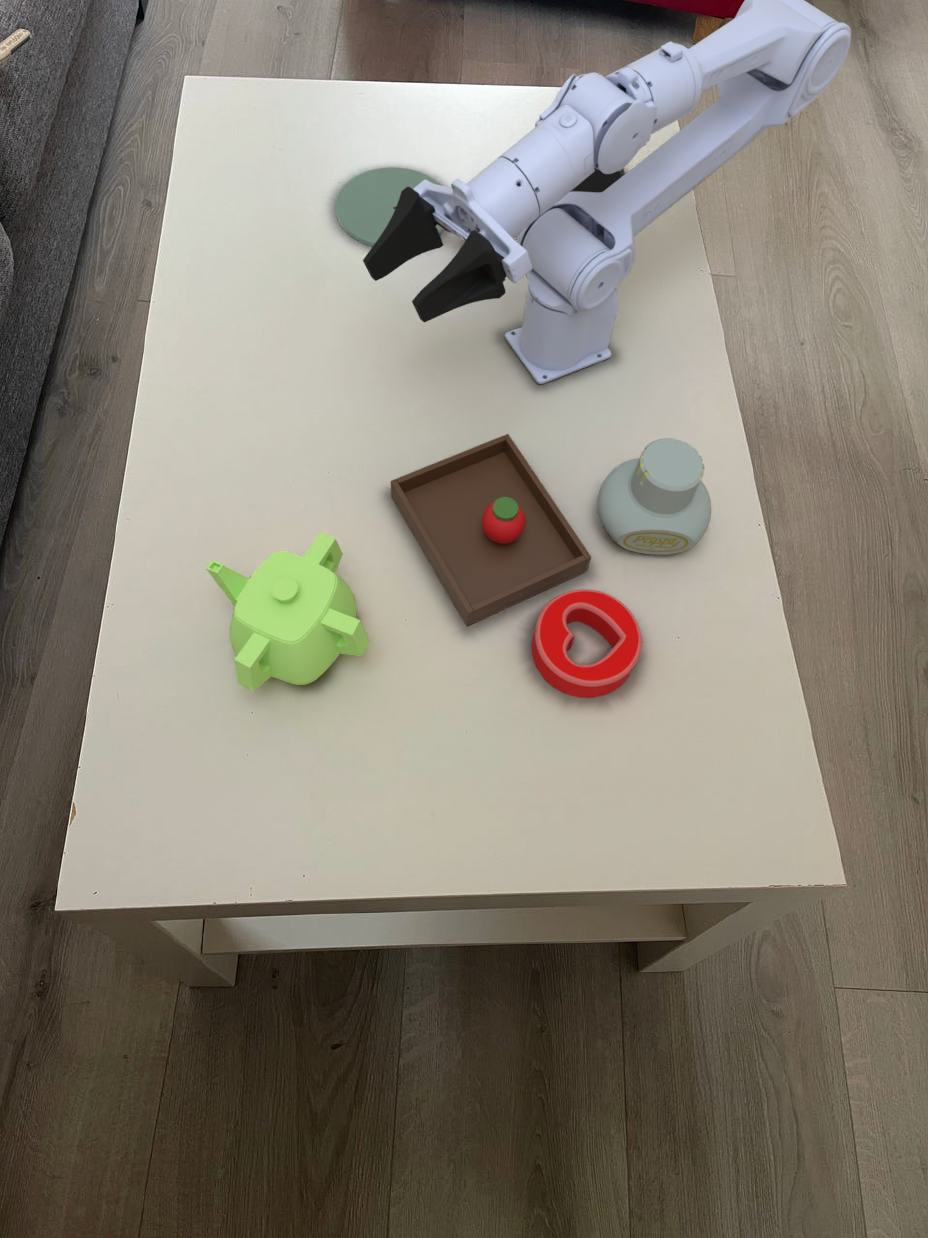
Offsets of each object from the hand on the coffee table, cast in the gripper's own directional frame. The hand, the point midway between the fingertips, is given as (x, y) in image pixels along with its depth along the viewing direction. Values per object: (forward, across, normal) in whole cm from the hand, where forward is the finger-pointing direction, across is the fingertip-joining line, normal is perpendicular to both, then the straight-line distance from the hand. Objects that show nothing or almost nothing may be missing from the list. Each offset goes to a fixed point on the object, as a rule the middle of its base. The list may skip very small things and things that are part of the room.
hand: (392, 290), depth 71 cm
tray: (+5, +10, +22) cm, 24 cm away
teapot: (+26, +10, +16) cm, 31 cm away
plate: (-14, -33, +19) cm, 40 cm away
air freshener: (-8, +18, +27) cm, 33 cm away
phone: (-33, -24, +26) cm, 48 cm away
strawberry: (+4, +12, +19) cm, 23 cm away
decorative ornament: (+6, +25, +24) cm, 36 cm away
